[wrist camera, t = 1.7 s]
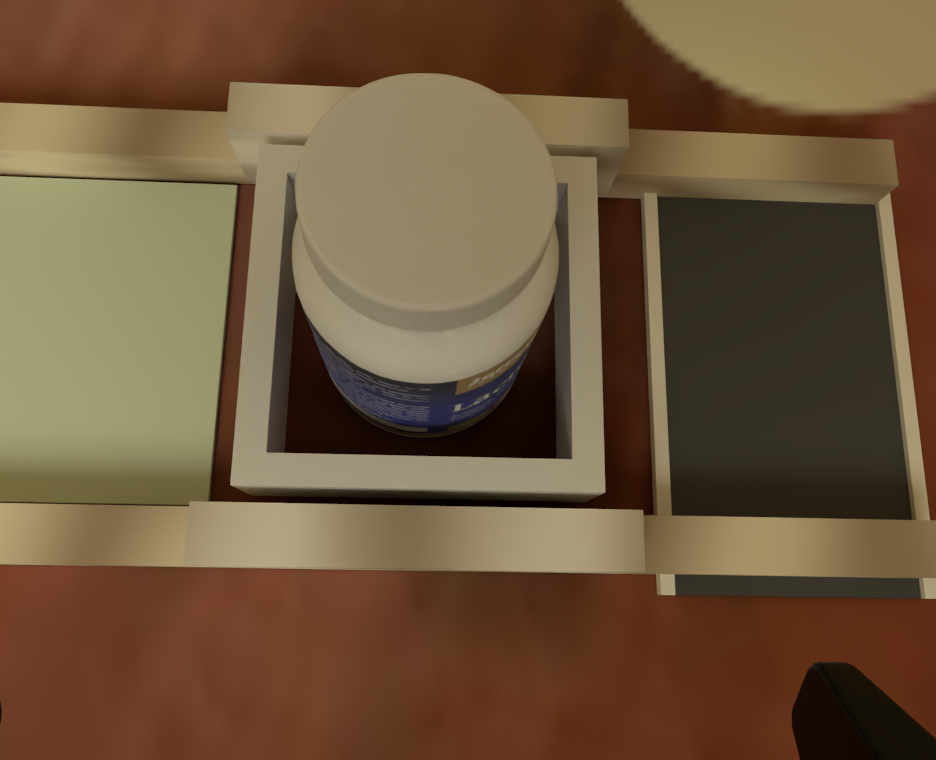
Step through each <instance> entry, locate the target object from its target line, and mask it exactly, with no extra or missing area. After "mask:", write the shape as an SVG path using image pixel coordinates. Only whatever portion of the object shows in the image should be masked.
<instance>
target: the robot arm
mask: <svg viewBox="0 0 936 760" xmlns="http://www.w3.org/2000/svg"><path fill="white" fill-rule="evenodd" d="M1 714H2V710H1V703H0V722H1ZM792 728H793V733H794V737H795V741H796V745H797V749H798V753H799V757H800V760H936V739H935V738H934V737H933V736H932V735H931V734H930V733H929V732H928V731H926V730H925V729H924V728H923V727H922V726H921V725H920V724H919V723H917V722H916V721H915V720H914V719H913V718H912V717H911V716H910V715H908V714H907V713H906V712H905V711H904V710H903V709H902V708H901V707H900V706H898V705H897V704H896V703H895V702H894V701H893V700H892V699H891V698H889V697H888V696H887V695H886V694H885V693H884V692H883V691H882V690H881V689H879V688H878V687H877V686H876V685H875V684H874V683H873V682H872V681H870V680H869V679H868V678H867V677H866V676H865V675H864V674H863V673H862V672H860V671H859V670H858V669H857V668H856V667H854V666H852V665H851V664H848V663H843V662H816V663H814V664H812V665H811V666H810V667H809V668H808V670H807V673H806V675H805V678H804V680H803V683H802V685H801V688H800V691H799V693H798V696H797V698H796V701H795V703H794V706H793V710H792Z"/></svg>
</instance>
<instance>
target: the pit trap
mask: <svg viewBox="0 0 936 760" xmlns="http://www.w3.org/2000/svg"><path fill="white" fill-rule="evenodd" d="M641 218H642V242H643V267H644V291H645V316H646V340H647V365H648V389H649V414H650V438H651V463H652V487H653V512H654V515H669V516H722V517H776V518H829V519H882V520H930V516H929V508H928V499H927V491H926V483H925V475H924V467H923V459H922V450H921V442H920V434H919V426H918V418H917V409H916V401H915V393H914V385H913V377H912V369H911V360H910V352H909V344H908V336H907V328H906V320H905V311H904V303H903V295H902V287H901V279H900V270H899V262H898V254H897V246H896V238H895V230H894V221H893V213H892V205H891V197H890V193H889V194H887V195H886V196H885V197H884V198H883V199H881V200H880V201H879V202H878V203H877V204H875V205H872V204H846V203H819V202H793V201H766V200H740V199H713V198H687V197H660V196H657V193H644V194H643V196H642V197H641ZM656 585H657V595H707V596H778V597H850V598H921V599H936V578H875V577H809V576H744V575H678V574H656Z"/></svg>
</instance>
